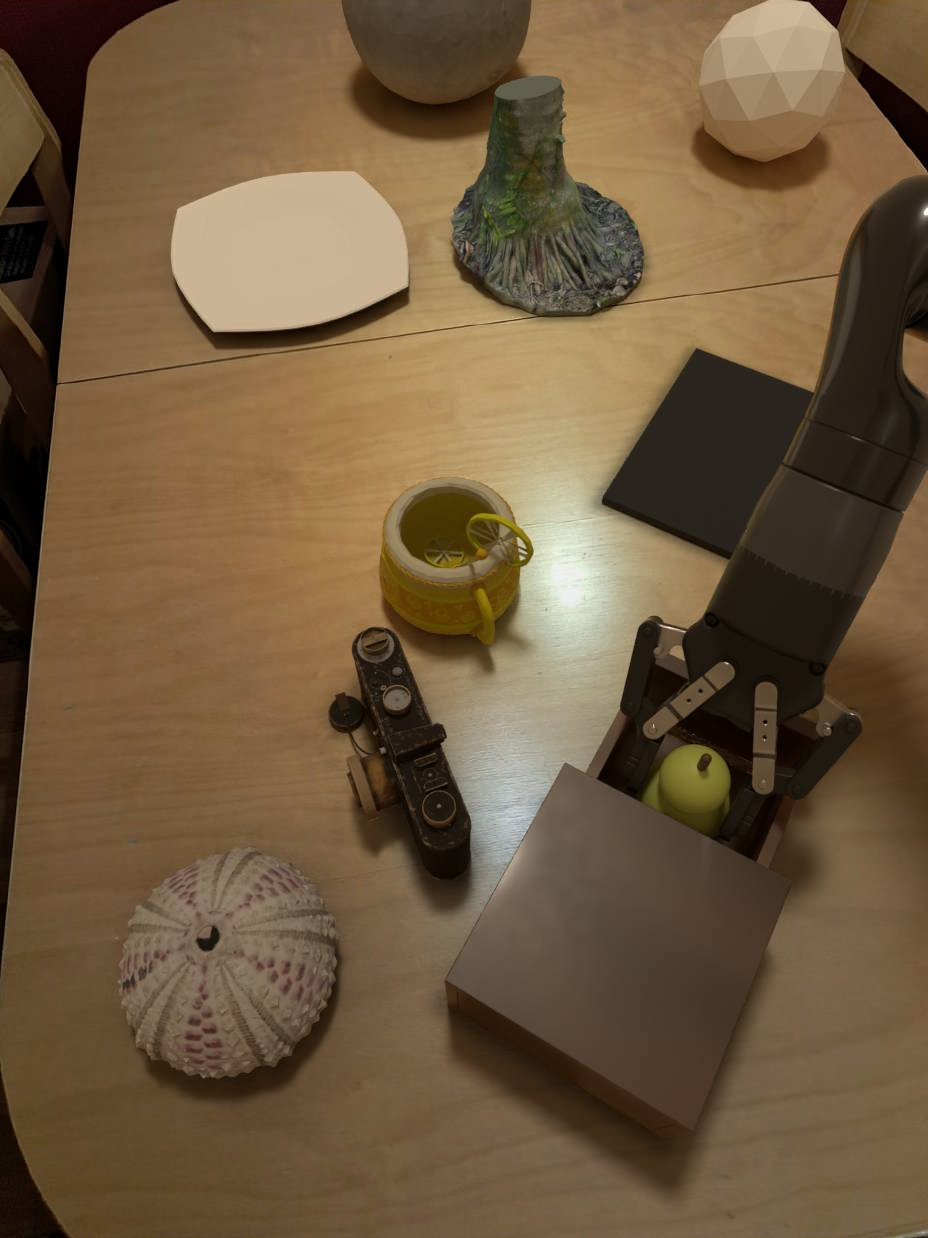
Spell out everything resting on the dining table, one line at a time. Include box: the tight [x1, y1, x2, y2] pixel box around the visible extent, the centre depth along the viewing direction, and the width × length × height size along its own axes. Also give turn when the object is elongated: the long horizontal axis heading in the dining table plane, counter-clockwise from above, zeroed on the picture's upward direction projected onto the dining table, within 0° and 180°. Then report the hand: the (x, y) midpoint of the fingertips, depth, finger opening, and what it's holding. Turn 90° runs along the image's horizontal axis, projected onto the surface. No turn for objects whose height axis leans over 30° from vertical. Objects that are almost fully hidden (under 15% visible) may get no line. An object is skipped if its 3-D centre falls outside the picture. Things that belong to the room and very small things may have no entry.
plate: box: [170, 170, 410, 334], centre depth 93 cm, size 23×23×2 cm
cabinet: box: [444, 762, 793, 1139], centre depth 56 cm, size 15×15×9 cm
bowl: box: [341, 0, 532, 105], centre depth 103 cm, size 20×20×15 cm
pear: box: [636, 743, 731, 839], centre depth 58 cm, size 6×6×11 cm
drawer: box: [585, 653, 819, 869], centre depth 62 cm, size 18×13×7 cm
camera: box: [327, 626, 472, 881], centre depth 63 cm, size 16×7×8 cm, turn 21°
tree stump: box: [450, 75, 645, 317], centre depth 90 cm, size 18×20×18 cm
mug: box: [378, 476, 535, 646], centre depth 69 cm, size 13×11×12 cm
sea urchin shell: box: [116, 846, 341, 1080], centre depth 56 cm, size 13×14×8 cm
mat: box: [601, 347, 814, 559], centre depth 80 cm, size 16×20×1 cm
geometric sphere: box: [698, 0, 846, 163], centre depth 98 cm, size 14×15×15 cm
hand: (679, 810), depth 58 cm, fingers closed on pear, 5 cm apart
